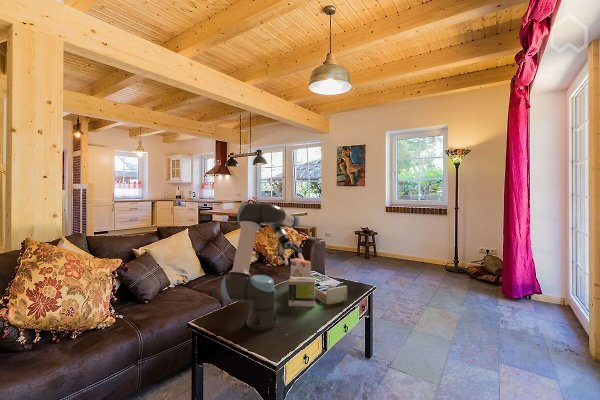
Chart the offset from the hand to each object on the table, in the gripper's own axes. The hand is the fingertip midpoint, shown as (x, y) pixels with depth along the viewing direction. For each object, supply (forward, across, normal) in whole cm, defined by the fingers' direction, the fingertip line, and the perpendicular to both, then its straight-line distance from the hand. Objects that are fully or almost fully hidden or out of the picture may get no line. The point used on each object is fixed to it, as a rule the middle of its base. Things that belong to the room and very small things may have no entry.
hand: (295, 262), depth 199 cm
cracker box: (+17, +1, -8) cm, 19 cm away
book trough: (+32, -6, +7) cm, 33 cm away
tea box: (+29, +13, +4) cm, 32 cm away
